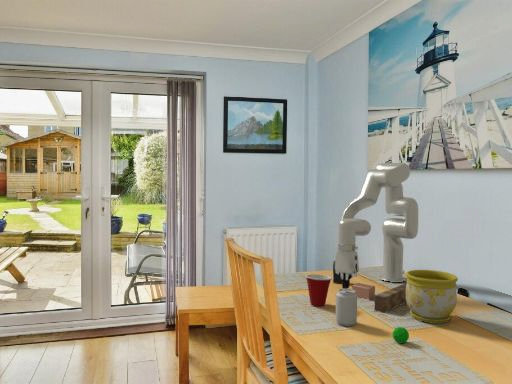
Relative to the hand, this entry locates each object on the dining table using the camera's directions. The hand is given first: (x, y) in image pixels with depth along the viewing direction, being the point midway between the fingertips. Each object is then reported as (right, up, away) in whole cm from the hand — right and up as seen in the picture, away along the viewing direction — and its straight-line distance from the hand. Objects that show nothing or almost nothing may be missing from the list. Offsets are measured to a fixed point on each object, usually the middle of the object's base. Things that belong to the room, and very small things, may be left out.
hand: (345, 287), depth 198 cm
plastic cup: (-15, -3, -19) cm, 24 cm away
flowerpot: (+25, -4, -33) cm, 42 cm away
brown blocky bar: (+17, -3, -16) cm, 24 cm away
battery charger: (+1, -2, +19) cm, 19 cm away
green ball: (+6, -5, -58) cm, 58 cm away
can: (-8, -4, -40) cm, 41 cm away
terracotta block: (+6, -3, -6) cm, 9 cm away
